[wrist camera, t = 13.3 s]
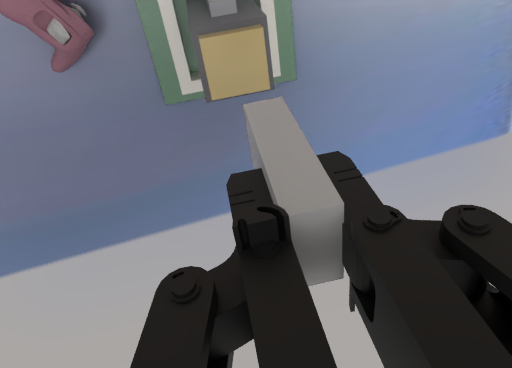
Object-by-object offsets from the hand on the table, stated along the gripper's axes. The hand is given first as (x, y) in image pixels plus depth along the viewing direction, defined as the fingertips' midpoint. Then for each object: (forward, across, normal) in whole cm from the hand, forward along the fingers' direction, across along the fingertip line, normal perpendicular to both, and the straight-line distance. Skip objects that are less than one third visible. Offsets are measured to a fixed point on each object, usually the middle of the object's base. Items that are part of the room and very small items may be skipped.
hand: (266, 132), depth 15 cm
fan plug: (+19, 0, 0) cm, 19 cm away
